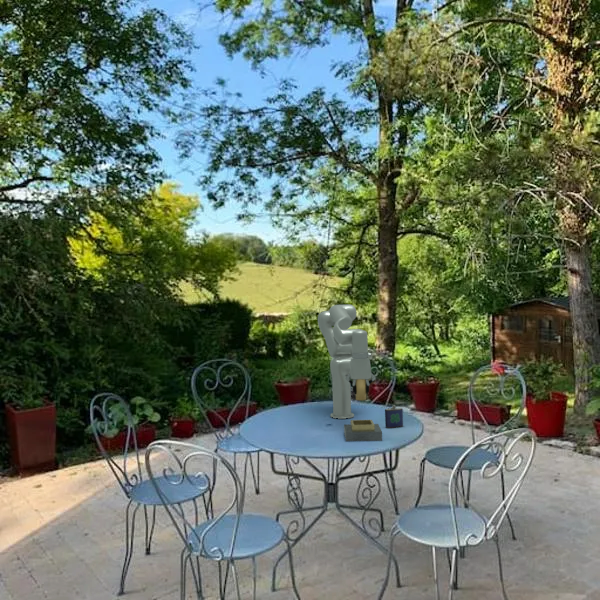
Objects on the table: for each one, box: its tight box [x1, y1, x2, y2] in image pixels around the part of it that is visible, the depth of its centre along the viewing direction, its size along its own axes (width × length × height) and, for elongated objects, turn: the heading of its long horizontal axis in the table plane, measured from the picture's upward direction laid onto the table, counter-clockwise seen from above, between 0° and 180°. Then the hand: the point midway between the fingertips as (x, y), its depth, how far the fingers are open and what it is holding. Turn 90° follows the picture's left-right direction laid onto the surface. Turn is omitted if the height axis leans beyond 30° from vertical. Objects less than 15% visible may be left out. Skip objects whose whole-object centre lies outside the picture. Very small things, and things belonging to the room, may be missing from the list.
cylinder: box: [355, 379, 367, 401], centre depth 257 cm, size 5×5×11 cm
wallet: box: [384, 404, 404, 429], centre depth 258 cm, size 9×3×11 cm, turn 105°
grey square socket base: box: [343, 419, 383, 442], centre depth 243 cm, size 14×16×6 cm
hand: (360, 393), depth 257 cm, fingers closed on cylinder, 5 cm apart
